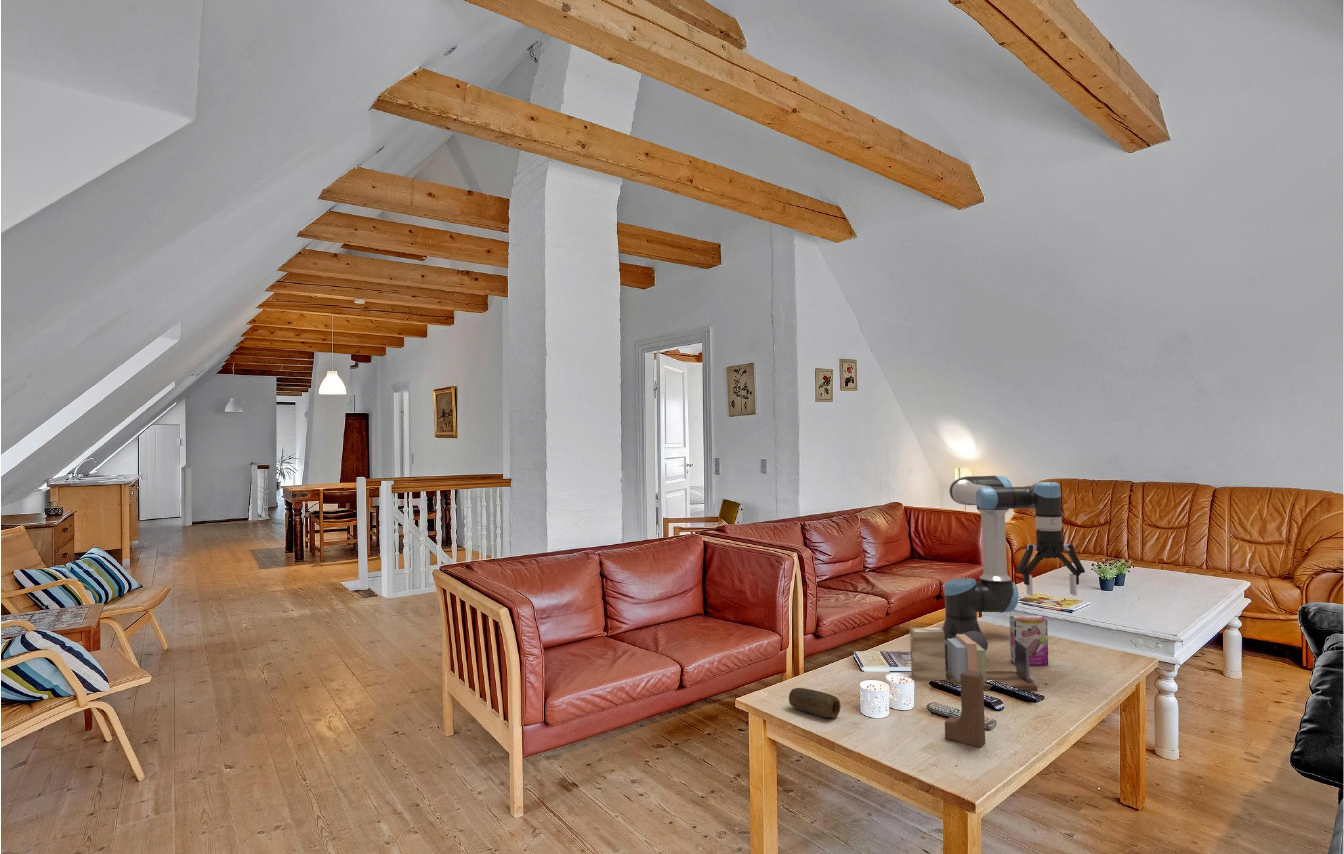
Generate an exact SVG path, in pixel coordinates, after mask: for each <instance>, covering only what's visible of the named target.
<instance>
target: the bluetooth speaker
mask: <svg viewBox="0 0 1344 854" xmlns="http://www.w3.org/2000/svg"><path fill="white" fill-rule="evenodd" d="M963 634H965V635H966V636H967V637H969V638H970V639H971V640H972V641H974V642H976V643H977V644H978V645H979V646H981V647H982V648H983V649H984V650H985V652H986V651H987V650H988V647H989V645H988V640H987V637H985V635H984V634H983V633H980V632H978V631H969V632H966V633H963ZM951 639H956V636H955V637H953V638H951ZM945 664H946V669H948V654H947V640H945Z"/></svg>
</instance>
